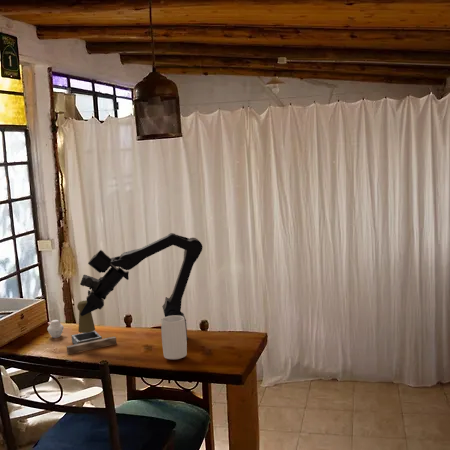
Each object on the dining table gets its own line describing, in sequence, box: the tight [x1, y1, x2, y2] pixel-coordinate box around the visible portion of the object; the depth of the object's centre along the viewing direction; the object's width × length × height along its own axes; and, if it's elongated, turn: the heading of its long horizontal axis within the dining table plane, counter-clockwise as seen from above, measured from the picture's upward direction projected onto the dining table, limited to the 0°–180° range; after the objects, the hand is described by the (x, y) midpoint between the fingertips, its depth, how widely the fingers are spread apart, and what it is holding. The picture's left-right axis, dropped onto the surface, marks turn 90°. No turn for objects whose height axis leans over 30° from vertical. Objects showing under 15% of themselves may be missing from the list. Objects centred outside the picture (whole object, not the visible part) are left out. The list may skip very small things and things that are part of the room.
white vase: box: [47, 319, 64, 339], centre depth 220 cm, size 6×6×7 cm
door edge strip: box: [66, 336, 117, 355], centre depth 205 cm, size 18×2×2 cm, turn 119°
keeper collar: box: [71, 330, 103, 345], centre depth 211 cm, size 9×9×3 cm
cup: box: [160, 315, 188, 360], centre depth 190 cm, size 8×8×14 cm
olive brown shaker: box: [77, 300, 96, 334], centre depth 204 cm, size 6×6×11 cm
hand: (81, 313), depth 203 cm, fingers closed on olive brown shaker, 5 cm apart
